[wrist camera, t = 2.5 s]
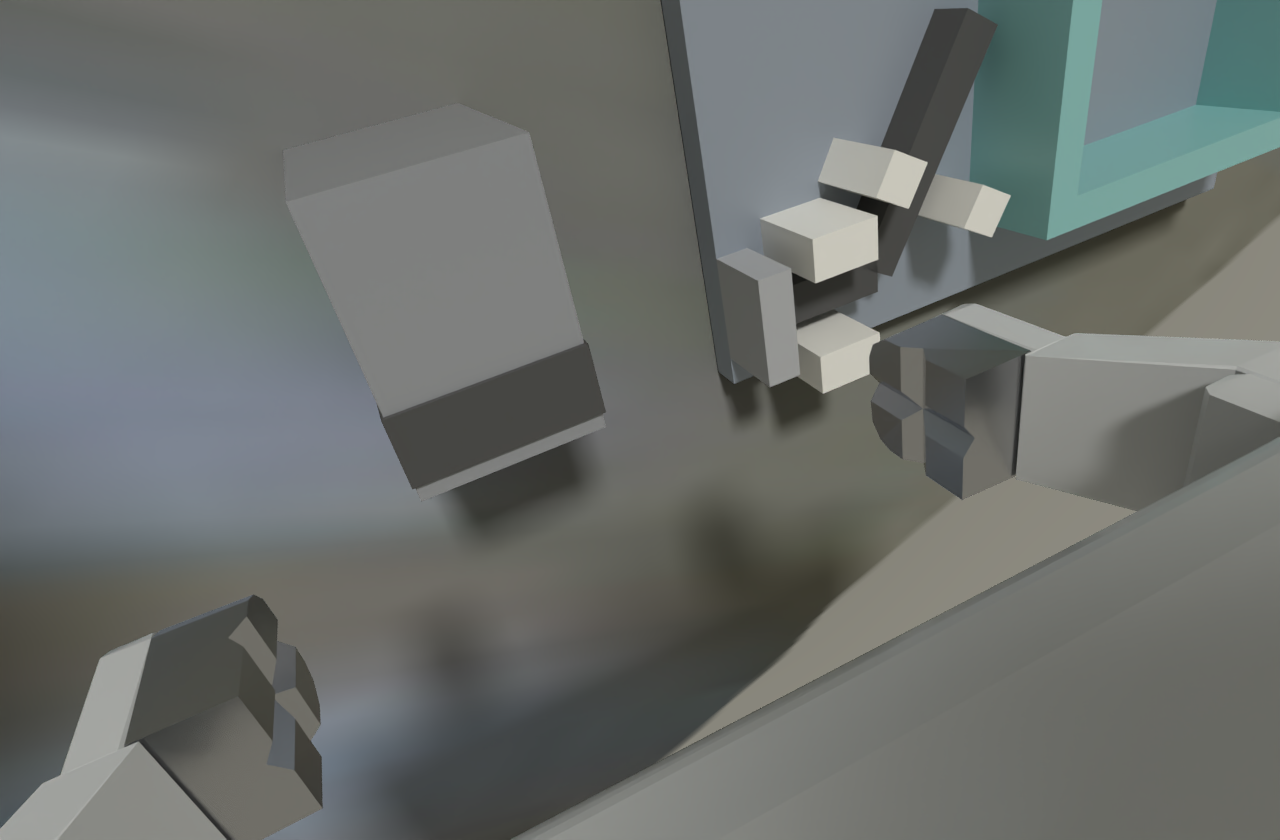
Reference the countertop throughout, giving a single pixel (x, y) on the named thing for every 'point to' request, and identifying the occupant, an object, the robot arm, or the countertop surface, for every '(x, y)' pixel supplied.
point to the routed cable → (911, 148)
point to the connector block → (448, 289)
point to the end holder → (1130, 160)
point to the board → (855, 92)
